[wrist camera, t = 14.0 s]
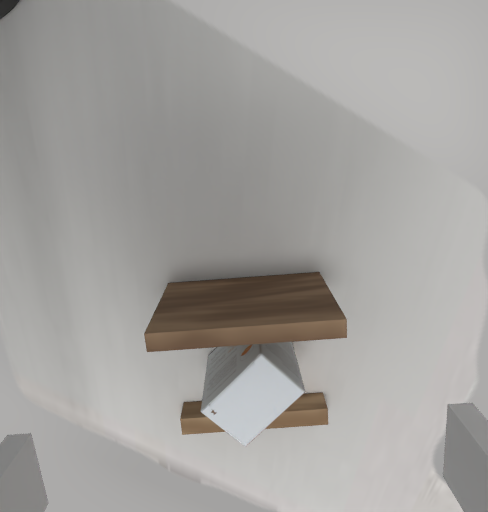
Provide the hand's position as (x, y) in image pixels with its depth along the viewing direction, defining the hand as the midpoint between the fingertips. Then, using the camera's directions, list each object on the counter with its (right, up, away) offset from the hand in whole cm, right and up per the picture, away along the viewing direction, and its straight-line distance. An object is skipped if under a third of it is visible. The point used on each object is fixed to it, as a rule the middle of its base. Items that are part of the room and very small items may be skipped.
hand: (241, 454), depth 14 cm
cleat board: (+1, -4, +34) cm, 34 cm away
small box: (+1, -4, +34) cm, 34 cm away
